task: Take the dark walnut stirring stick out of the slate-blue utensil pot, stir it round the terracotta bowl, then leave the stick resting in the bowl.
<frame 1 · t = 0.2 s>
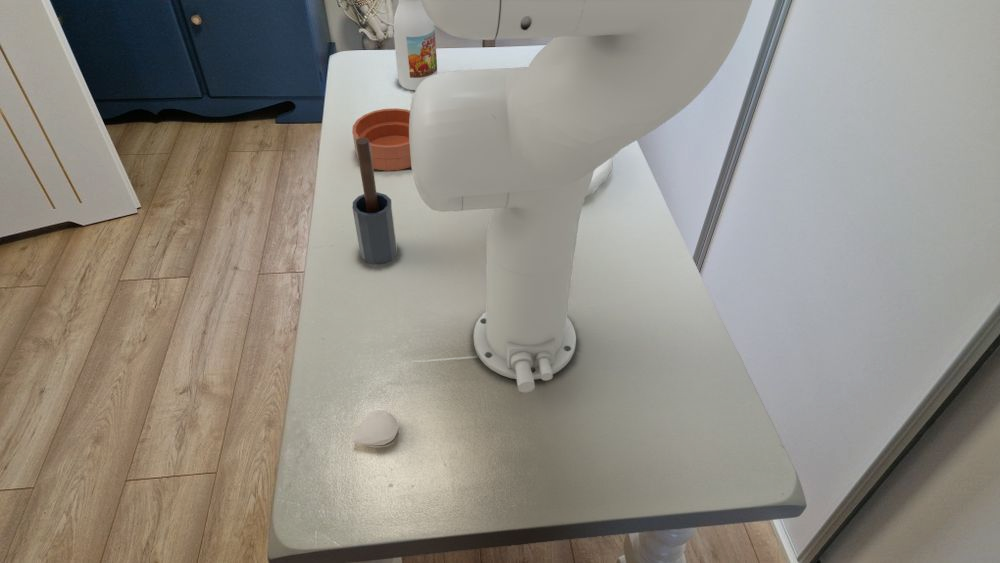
utensil pot: (379, 255, 93), on the table
grey rounded piece: (376, 438, 71), on the table
milk bottle: (418, 83, 130), on the table
bowl: (393, 153, 111), on the table
stick: (379, 252, 92), resting on utensil pot
plate: (526, 166, 109), on the table
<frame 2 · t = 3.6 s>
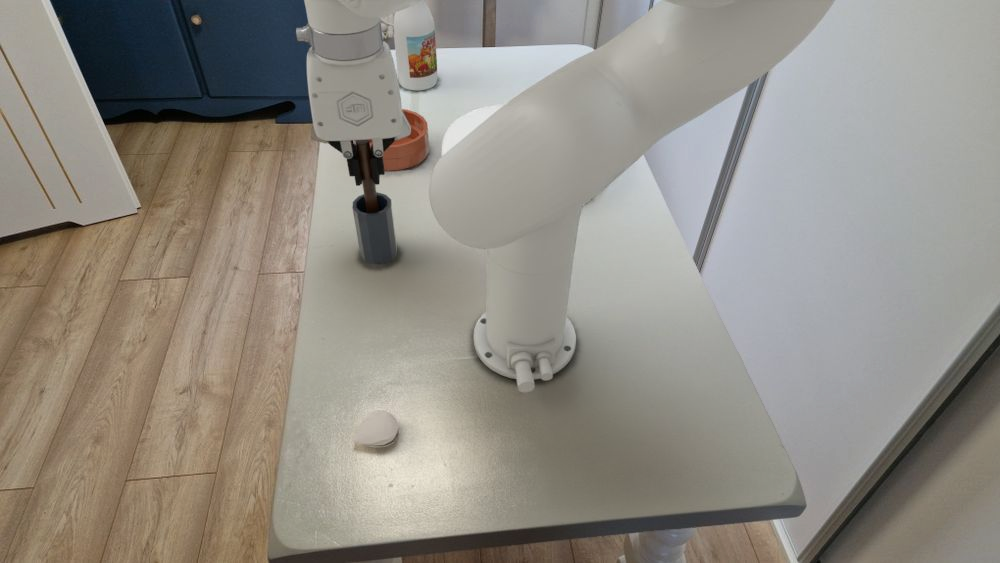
hand: (368, 178, 83), 13 cm above the table, tool pointing down, fingers closed on stick, 1 cm apart
stick: (379, 252, 92), point 1 cm above the table, touching gripper, utensil pot
everything else where it was.
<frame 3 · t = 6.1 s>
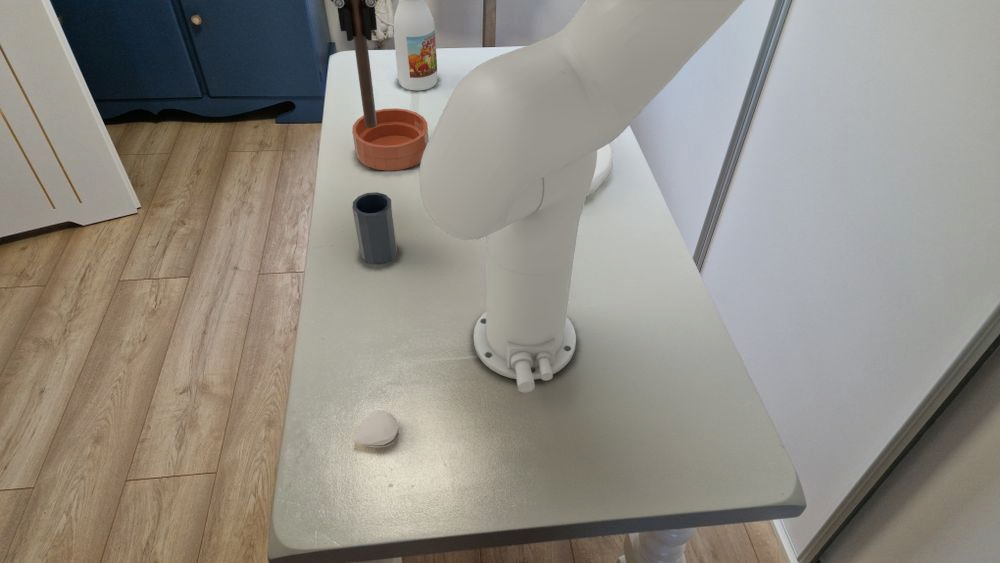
hand: (359, 34, 80), 28 cm above the table, tool pointing down, fingers closed on stick, 1 cm apart
stick: (371, 125, 89), point 15 cm above the table, touching gripper
everything else where it was.
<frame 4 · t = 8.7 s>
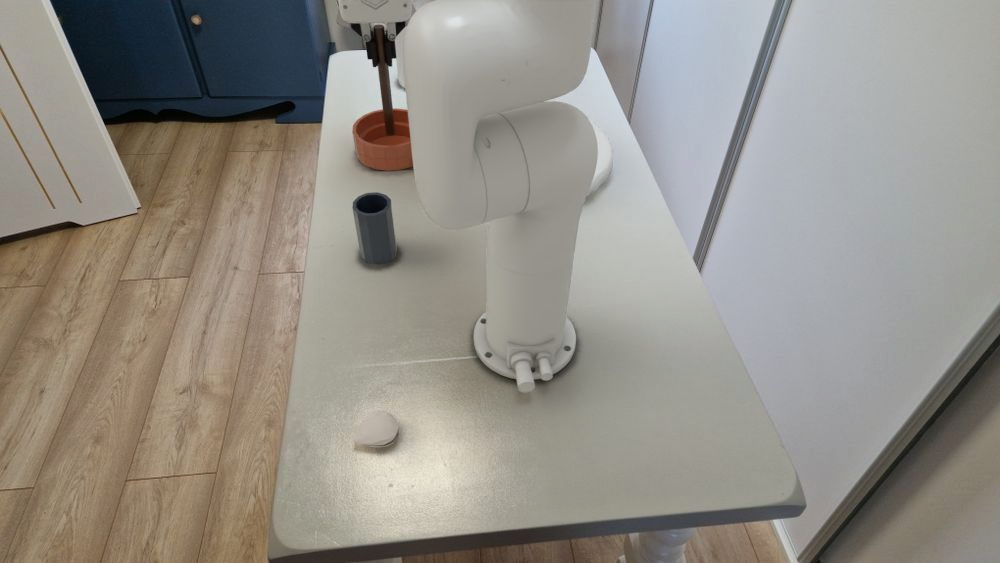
hand: (382, 62, 100), 16 cm above the table, tool pointing down, fingers closed on stick, 1 cm apart
stick: (390, 133, 109), point 4 cm above the table, touching gripper
everything else where it was.
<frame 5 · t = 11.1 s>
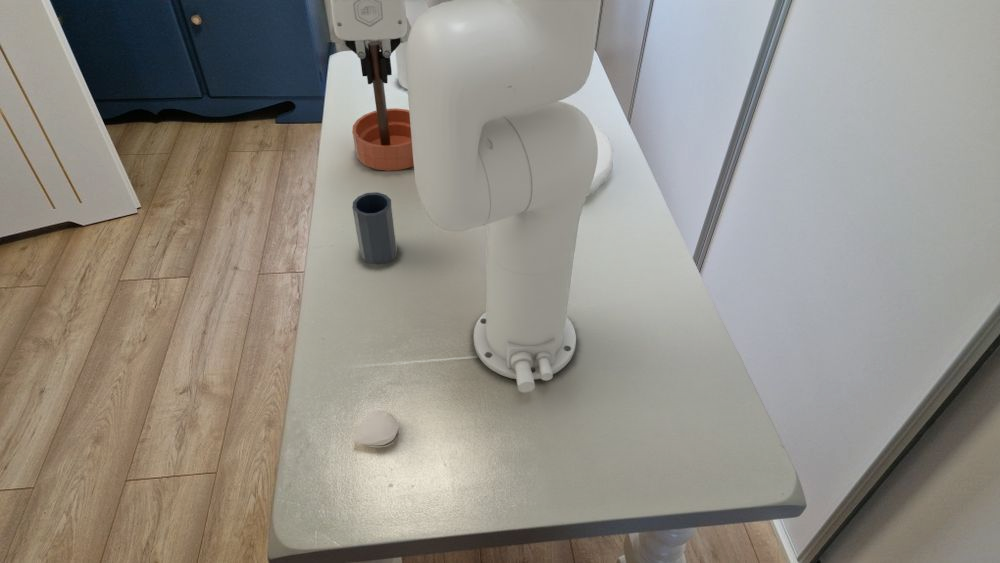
hand: (377, 78, 99), 15 cm above the table, tool pointing down, fingers closed on stick, 1 cm apart
stick: (386, 150, 108), point 2 cm above the table, touching gripper
everything else where it was.
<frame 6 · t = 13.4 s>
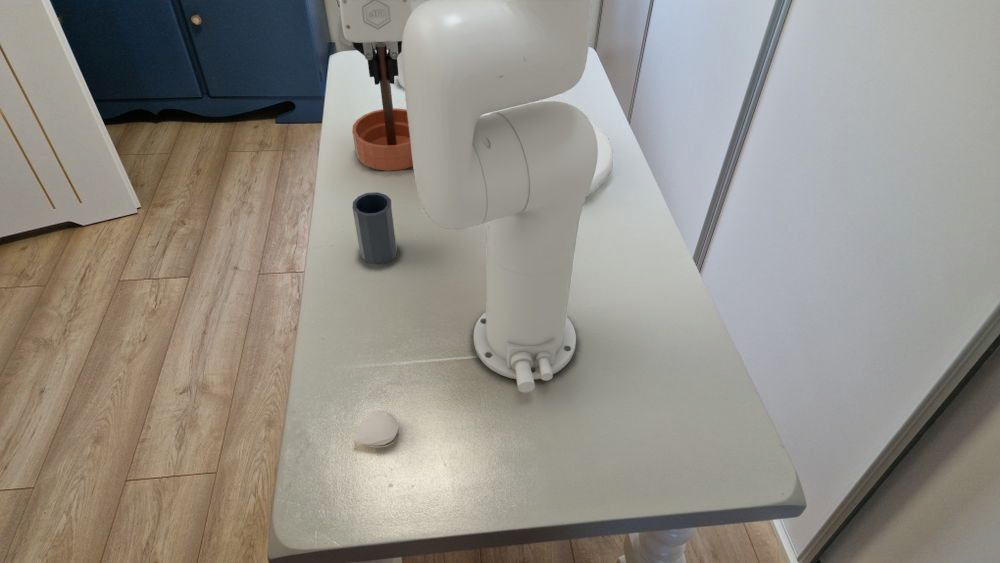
hand: (384, 79, 102), 13 cm above the table, tool pointing down, fingers closed on stick, 1 cm apart
stick: (392, 148, 111), point 1 cm above the table, touching gripper
everything else where it was.
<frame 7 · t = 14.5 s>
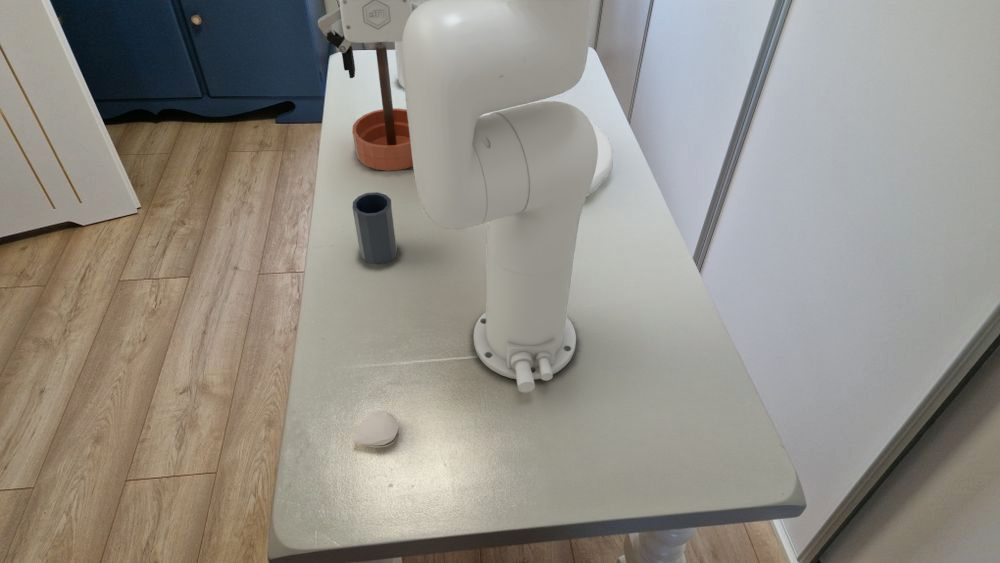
hand: (384, 72, 101), 14 cm above the table, tool pointing down, fingers open, 9 cm apart
stick: (392, 149, 111), point 1 cm above the table, touching bowl
everything else where it was.
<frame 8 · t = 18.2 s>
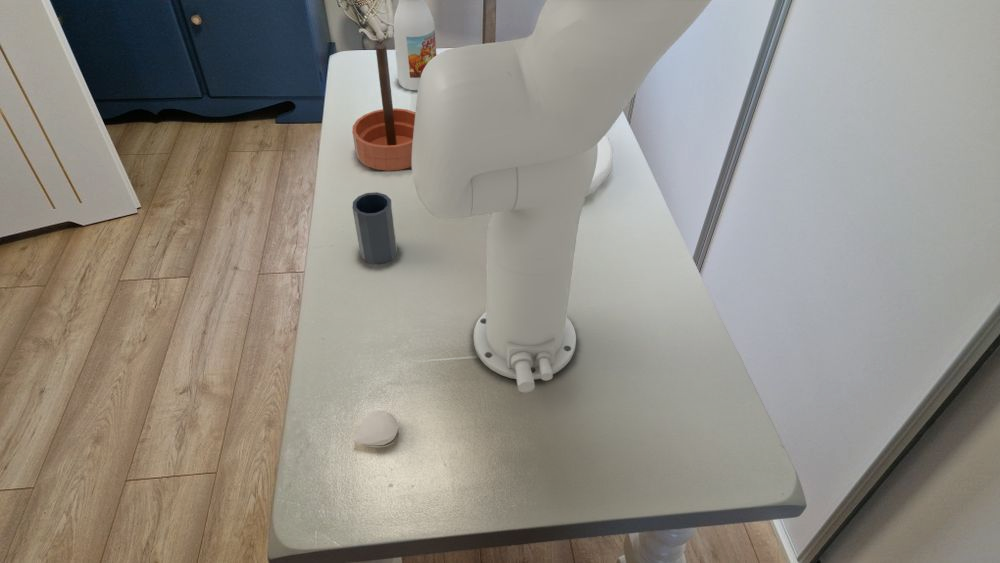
nothing on the table moved.
at the end: stick inside the target area in the bowl (0.1 cm from its centre), point 0.6 cm above the bowl's base; the gripper is holding nothing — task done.
